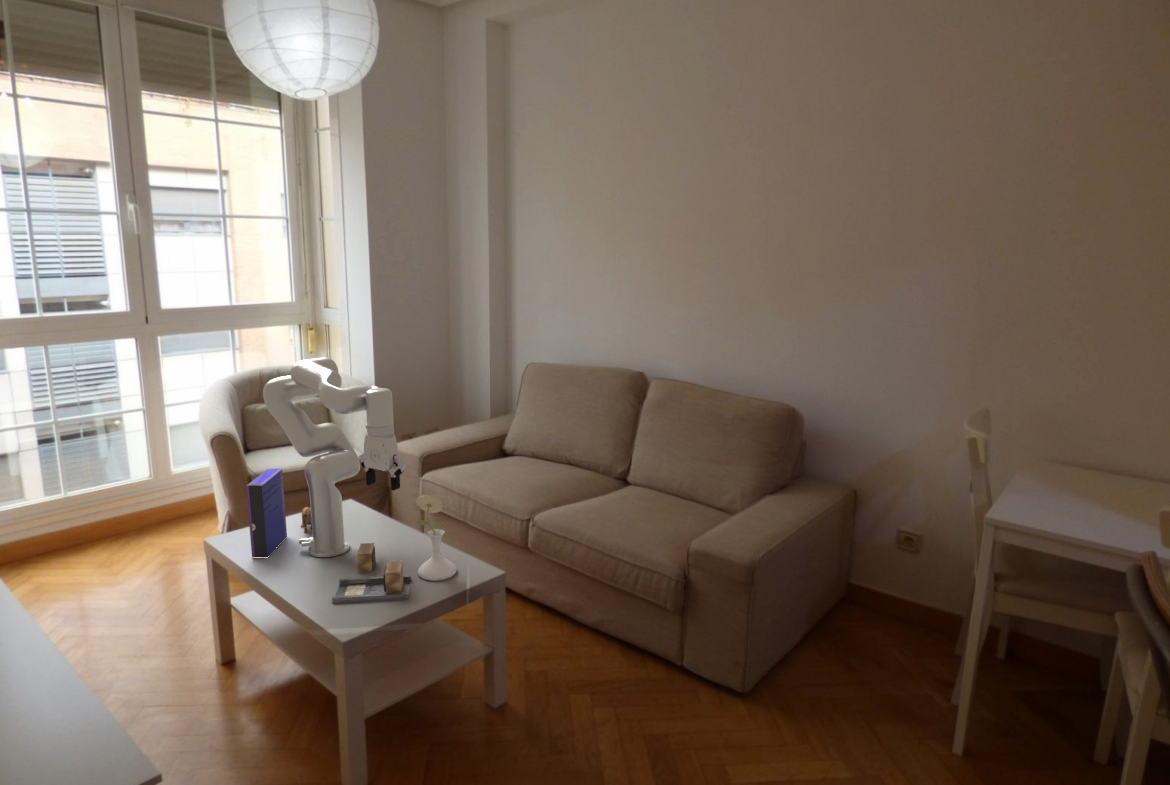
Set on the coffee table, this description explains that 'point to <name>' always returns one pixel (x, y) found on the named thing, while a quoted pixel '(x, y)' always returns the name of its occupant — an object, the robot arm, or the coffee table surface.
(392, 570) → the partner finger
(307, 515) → the lion figurine
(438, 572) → the flower in vase
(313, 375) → the robot arm
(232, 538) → the coffee table surface
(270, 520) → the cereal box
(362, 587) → the gray tray
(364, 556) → the block
